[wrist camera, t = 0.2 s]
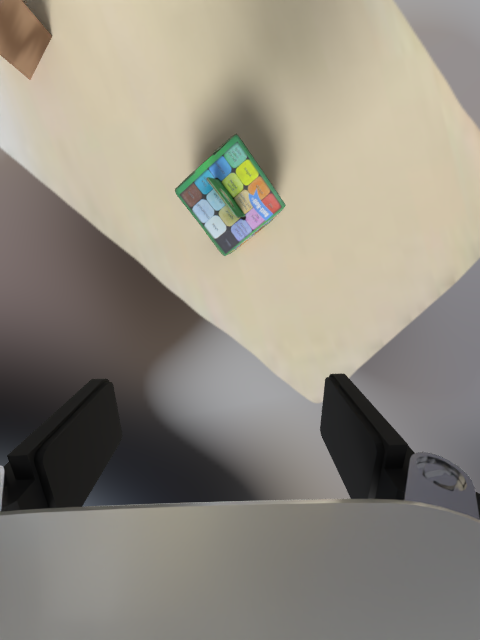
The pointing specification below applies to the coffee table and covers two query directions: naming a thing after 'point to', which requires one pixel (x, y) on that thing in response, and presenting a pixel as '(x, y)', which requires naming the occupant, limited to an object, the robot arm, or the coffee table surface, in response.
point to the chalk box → (230, 196)
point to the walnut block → (21, 36)
